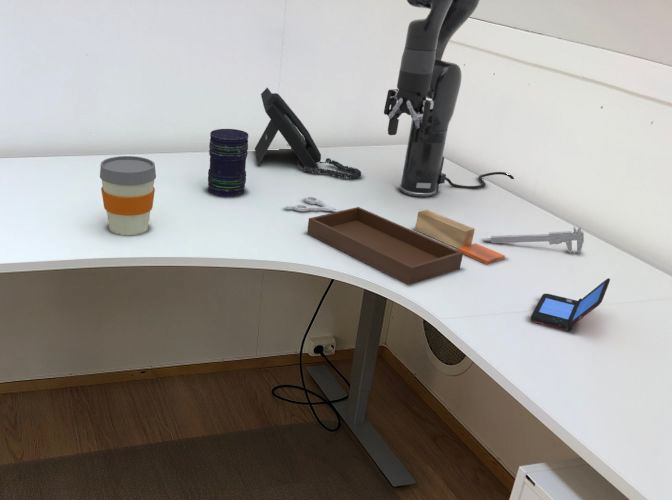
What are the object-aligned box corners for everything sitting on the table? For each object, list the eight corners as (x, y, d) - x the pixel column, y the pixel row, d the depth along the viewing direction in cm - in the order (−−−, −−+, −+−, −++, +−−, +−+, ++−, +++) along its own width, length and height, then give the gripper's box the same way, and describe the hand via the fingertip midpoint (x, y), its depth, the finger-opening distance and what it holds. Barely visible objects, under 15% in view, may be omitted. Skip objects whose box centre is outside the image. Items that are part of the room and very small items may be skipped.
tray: (356, 221, 191) (358, 206, 189) (459, 269, 169) (463, 252, 167) (306, 233, 183) (308, 218, 181) (408, 285, 161) (411, 268, 159)
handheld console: (541, 297, 158) (551, 263, 154) (599, 311, 153) (611, 277, 149) (528, 321, 149) (538, 286, 145) (589, 338, 144) (601, 301, 140)
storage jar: (201, 193, 205) (203, 135, 197) (215, 182, 213) (217, 126, 205) (237, 199, 202) (241, 141, 194) (250, 188, 209) (254, 131, 202)
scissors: (302, 194, 204) (377, 209, 196) (302, 197, 204) (376, 212, 196) (285, 206, 196) (362, 222, 188) (285, 209, 196) (361, 225, 188)
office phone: (362, 180, 218) (373, 106, 208) (260, 177, 218) (265, 102, 207) (346, 150, 243) (355, 82, 233) (254, 146, 243) (259, 78, 233)
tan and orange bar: (427, 226, 190) (431, 208, 187) (504, 258, 174) (509, 239, 172) (410, 231, 187) (413, 212, 184) (486, 264, 171) (491, 245, 169)
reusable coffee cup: (131, 214, 191) (130, 152, 183) (166, 229, 183) (167, 165, 175) (90, 226, 183) (87, 162, 175) (125, 242, 175) (124, 176, 168)
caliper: (579, 253, 178) (587, 227, 175) (579, 255, 177) (587, 228, 174) (484, 240, 183) (490, 215, 180) (484, 242, 182) (490, 216, 179)
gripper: (450, 74, 180) (436, 145, 188) (407, 62, 190) (395, 130, 199) (426, 76, 177) (413, 148, 185) (383, 64, 187) (372, 133, 195)
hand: (403, 139), depth 192 cm, fingers open, 8 cm apart
